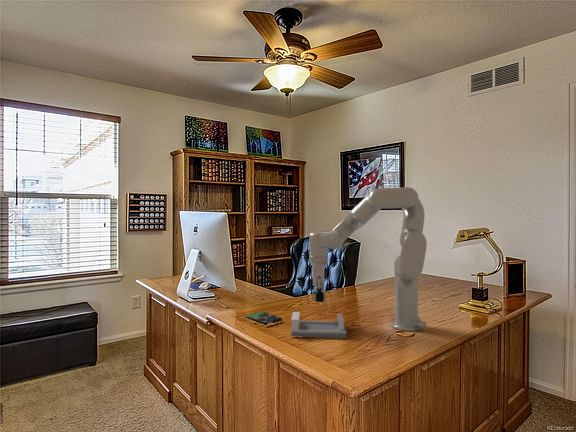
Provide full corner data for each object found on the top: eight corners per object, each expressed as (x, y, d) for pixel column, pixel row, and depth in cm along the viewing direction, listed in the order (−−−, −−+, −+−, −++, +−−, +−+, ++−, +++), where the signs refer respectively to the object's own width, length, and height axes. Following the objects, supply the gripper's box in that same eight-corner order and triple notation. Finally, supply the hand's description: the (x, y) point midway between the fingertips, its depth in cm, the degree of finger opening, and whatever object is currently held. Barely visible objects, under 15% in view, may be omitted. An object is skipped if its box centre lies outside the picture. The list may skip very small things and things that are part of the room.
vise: (344, 328, 155) (344, 312, 155) (346, 338, 143) (346, 320, 143) (293, 327, 157) (292, 311, 157) (291, 337, 145) (291, 320, 145)
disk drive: (282, 323, 165) (261, 316, 175) (282, 317, 165) (261, 310, 175) (265, 329, 157) (244, 321, 168) (265, 322, 157) (244, 315, 168)
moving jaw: (341, 324, 154) (341, 313, 154) (343, 332, 144) (343, 320, 144) (337, 324, 155) (337, 313, 154) (338, 332, 145) (338, 320, 145)
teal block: (324, 299, 165) (323, 287, 165) (324, 302, 160) (323, 289, 160) (315, 299, 166) (314, 287, 165) (315, 302, 161) (314, 289, 160)
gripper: (310, 257, 171) (311, 295, 172) (309, 262, 154) (311, 305, 155) (326, 257, 171) (327, 295, 171) (327, 262, 154) (328, 304, 154)
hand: (319, 299), depth 163 cm, fingers closed on teal block, 5 cm apart
